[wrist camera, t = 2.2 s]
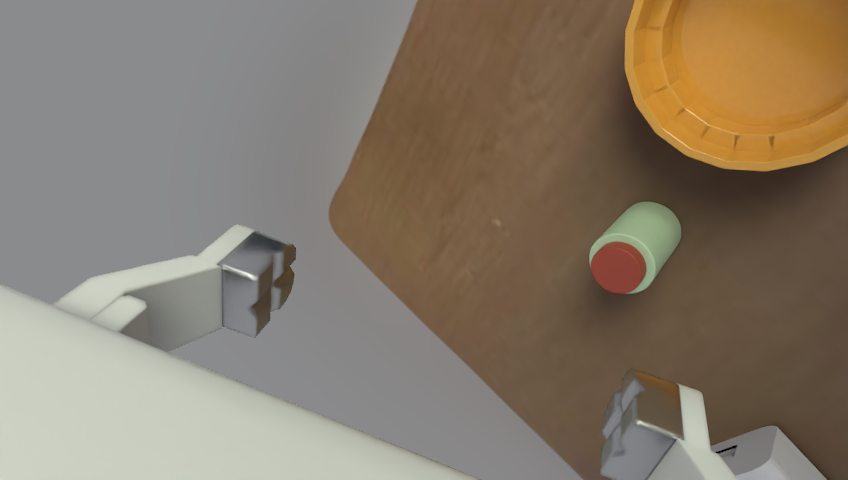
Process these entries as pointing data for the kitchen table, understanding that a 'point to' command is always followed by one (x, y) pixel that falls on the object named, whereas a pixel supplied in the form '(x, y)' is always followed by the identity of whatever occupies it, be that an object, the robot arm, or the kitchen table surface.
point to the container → (635, 248)
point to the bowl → (742, 78)
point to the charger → (766, 457)
